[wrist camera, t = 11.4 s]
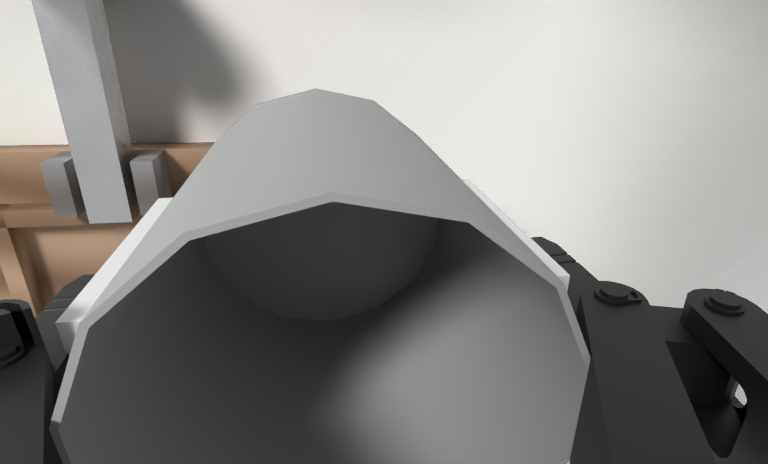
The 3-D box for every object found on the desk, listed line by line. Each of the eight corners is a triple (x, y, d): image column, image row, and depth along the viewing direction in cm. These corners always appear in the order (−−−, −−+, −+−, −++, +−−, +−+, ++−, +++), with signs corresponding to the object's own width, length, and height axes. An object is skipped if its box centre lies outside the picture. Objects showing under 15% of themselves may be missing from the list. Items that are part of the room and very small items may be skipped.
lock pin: (11, -113, 22) (-132, -176, 15) (113, -107, 23) (23, -165, 15) (91, 203, 28) (19, 266, 21) (168, 200, 29) (123, 261, 22)
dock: (-47, 146, 27) (-101, 166, 23) (244, 142, 29) (236, 159, 25) (38, 380, 34) (6, 424, 30) (267, 361, 36) (263, 399, 32)
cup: (178, 91, 14) (-40, 211, 5) (442, 85, 15) (637, 175, 6) (219, 323, 18) (130, 637, 9) (432, 305, 19) (549, 565, 10)
